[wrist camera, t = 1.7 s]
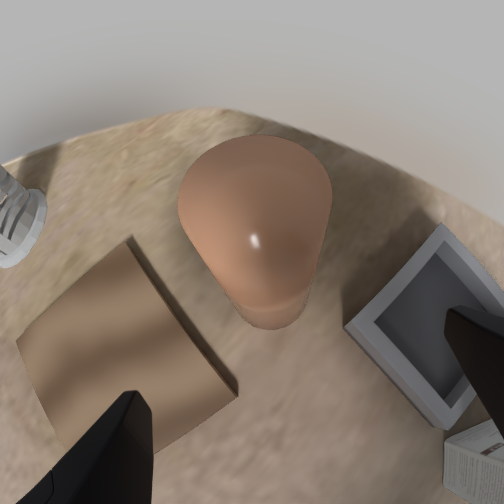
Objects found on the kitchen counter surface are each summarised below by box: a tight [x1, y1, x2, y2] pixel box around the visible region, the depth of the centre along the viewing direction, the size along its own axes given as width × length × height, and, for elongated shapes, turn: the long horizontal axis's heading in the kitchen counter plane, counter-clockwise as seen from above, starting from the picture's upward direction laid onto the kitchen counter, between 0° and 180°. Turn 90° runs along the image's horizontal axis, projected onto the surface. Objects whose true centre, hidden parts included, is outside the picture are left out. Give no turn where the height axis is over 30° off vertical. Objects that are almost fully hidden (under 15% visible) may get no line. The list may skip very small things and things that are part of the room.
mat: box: [16, 241, 238, 454], centre depth 19 cm, size 14×14×1 cm
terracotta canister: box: [177, 135, 333, 330], centre depth 15 cm, size 5×5×12 cm
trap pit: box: [343, 222, 504, 430], centre depth 17 cm, size 10×10×2 cm
